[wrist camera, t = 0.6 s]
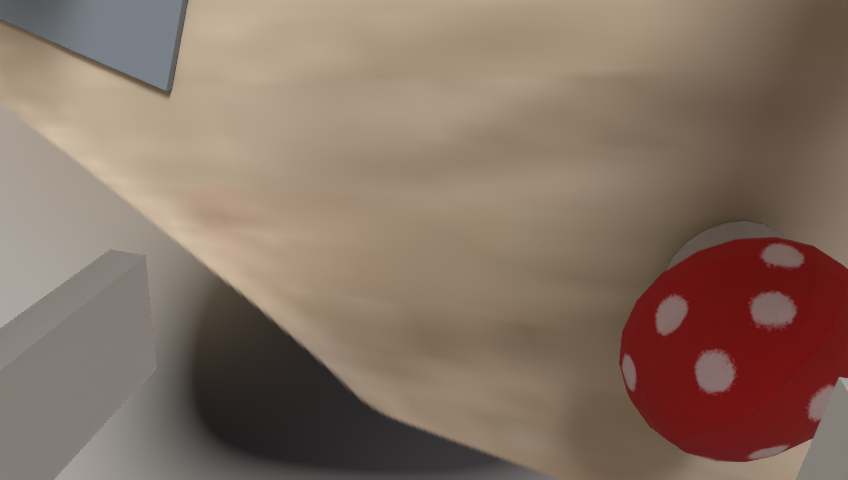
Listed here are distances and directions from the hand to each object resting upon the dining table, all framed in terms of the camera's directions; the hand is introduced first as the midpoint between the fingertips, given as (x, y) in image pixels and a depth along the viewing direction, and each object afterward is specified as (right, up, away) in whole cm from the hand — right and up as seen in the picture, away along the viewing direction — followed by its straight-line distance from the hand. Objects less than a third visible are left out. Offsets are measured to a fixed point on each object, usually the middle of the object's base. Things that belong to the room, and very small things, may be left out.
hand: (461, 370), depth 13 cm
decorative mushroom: (+15, +1, +24) cm, 28 cm away
